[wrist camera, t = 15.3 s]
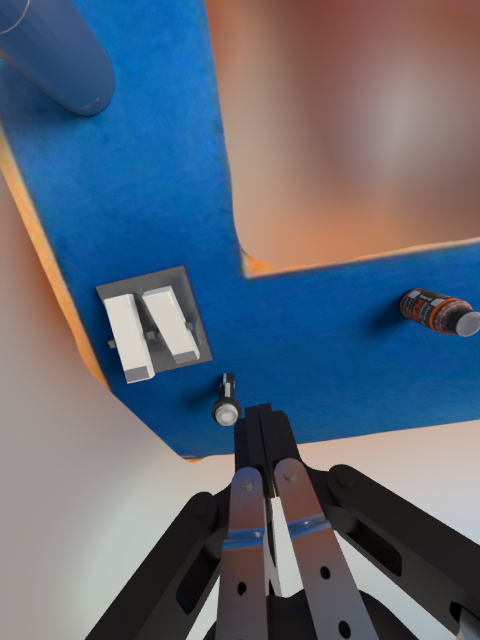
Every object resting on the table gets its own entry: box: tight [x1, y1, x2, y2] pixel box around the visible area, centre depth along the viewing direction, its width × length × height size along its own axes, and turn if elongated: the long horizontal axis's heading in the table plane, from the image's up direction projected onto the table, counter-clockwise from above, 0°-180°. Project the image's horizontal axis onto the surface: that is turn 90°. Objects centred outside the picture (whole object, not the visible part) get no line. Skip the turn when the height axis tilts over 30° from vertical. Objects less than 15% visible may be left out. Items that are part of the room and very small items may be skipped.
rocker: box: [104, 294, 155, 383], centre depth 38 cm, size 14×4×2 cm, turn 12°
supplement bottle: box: [400, 288, 480, 337], centre depth 39 cm, size 6×6×11 cm
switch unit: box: [96, 264, 214, 373], centre depth 40 cm, size 18×15×7 cm
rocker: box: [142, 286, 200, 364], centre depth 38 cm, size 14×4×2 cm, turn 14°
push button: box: [211, 373, 242, 426], centre depth 45 cm, size 7×5×10 cm
